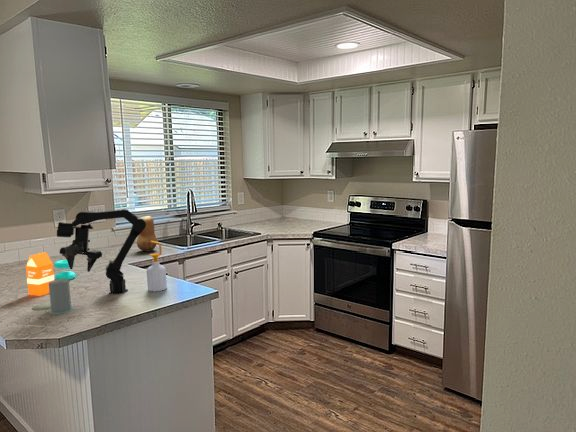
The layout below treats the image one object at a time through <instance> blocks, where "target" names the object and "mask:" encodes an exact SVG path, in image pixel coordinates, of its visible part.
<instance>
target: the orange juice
mask: <svg viewBox="0 0 576 432" xmlns="http://www.w3.org/2000/svg"><path fill="white" fill-rule="evenodd" d="M25 271H26V272H25V273H26V283H27V290H28V296H38V297H42V296H44V295H48V294H49V285H48V284H49V282H50V281H53V280H55V273H54V263H53V261H52V260H51V257H49V255H48V253H47V252H46V251H43V252H40V253H36V254H31V255H29V258H28V260H27V263H26V265H25Z"/></svg>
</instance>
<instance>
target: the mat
mask: <svg viewBox="0 0 576 432" xmlns="http://www.w3.org/2000/svg"><path fill="white" fill-rule="evenodd" d="M50 309H51V304H50V302H46V303H45V302H44V303H41V304H40V303H39V304H36V305H34V306H32V308H31V310H33V311H38V312H39V311H47V310H50Z"/></svg>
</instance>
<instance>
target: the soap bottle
mask: <svg viewBox="0 0 576 432" xmlns="http://www.w3.org/2000/svg"><path fill="white" fill-rule="evenodd" d="M151 242H152V243H156V244H157V245H158V247H159V252H157V253H150V254H149V256H150V257H152V258H153V259H152V260H151V265H150V266H148V268H147V270H146V279H147V281H146V282H147V290H148V291H149V292H152V291H153V292H155V293H156V291H157V292H162V290H163V291H165V290H166V289H168V286H167V282H168V281H167V271H166V270H167V269H166V267H165V266H164V265H162V264H160V259H158V257H159V256H161V255H162V245H161V243H160V242H159V241H158V240H157V241H151Z"/></svg>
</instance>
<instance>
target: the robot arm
mask: <svg viewBox="0 0 576 432" xmlns="http://www.w3.org/2000/svg"><path fill="white" fill-rule="evenodd" d="M121 218H124V219H125V220H126V221H128V222H129V223H130V224H131V227H130V231H129V234H128V235H127V237H126V239H125V240H124V243H123V244H122V246H121V248H120V249H119V251H118V253H117V255H116V256H115V258H114V259H113V260H111V259H109V262H108V264H107V265H106V266H105V276H106V278H108V279H110V280H109V283H108V284H109V292H108V294H109V295H122V294H124V293H126V292H127V291H128V290H129V289H127V286H126V279H124V277H125V276H124V272H123V271H121V268H122V266H123V262H124V261H125V259H126V257H127V255H128V254H129V252H130V250H131V248H132V246H133V245H134V243H135V241H136V239H138V236H139V234H140V233H141V232H142V231H143V230H144V229H145V227H146V223H145V220H144V219H143V218H141V217H138V216H137V215H135V214H133V213H132V212H131V211H130V210H128V208H123V209H114V210H103V211H94V210H93V211H92V210H91V211H90V210H81V211H78V212H77V214H76V216H75V219H74V220H73V221H72V222H63V221H59V222H58V223H57V224H58V226H57V229H56V237H57V238H72V236H74V239H73V240H72V242H71V244H69V245H68V246H63V247H60V249H59V254H60V255H61V256H63V257H64V258H65V260H67V261H68V264H69V270H72V269H73V268H74V265H75V257H76V256H77V255H82V256H83V255H84V256H86V257H87V258H86V261H87V269H86V270H87V273H90V272H91V270H92V268H93V266H94V264H95V263H96V261H97V260H98V259H100V258H102V257H103V252H102V251H101V250H96V249H94V250H91V249H90V247H89V243H91V240H90V239H89V235H90V230H94V226H93V225H92V224H91V223H93V222H96V221H101V220H103V221H104V220H112V219H121ZM79 225H80V226H79ZM73 264H74V265H73Z"/></svg>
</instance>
